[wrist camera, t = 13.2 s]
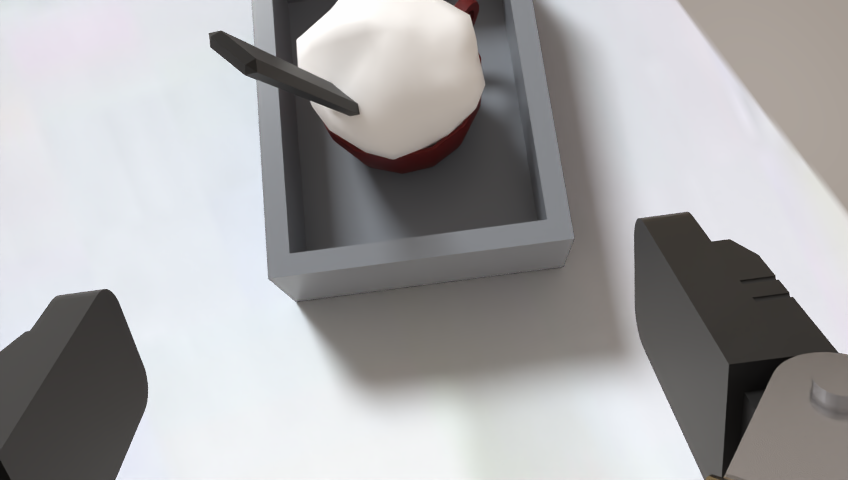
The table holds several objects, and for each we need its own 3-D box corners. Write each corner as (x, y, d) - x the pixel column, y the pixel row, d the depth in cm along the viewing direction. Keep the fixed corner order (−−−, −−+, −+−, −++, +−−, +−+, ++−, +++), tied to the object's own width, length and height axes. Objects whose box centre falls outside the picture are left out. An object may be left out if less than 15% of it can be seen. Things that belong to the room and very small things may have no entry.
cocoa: (460, 22, 33) (456, -233, 22) (535, 139, 31) (573, -74, 20) (256, 119, 32) (140, -95, 21) (320, 247, 30) (230, 88, 19)
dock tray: (295, 301, 31) (268, 278, 27) (274, 3, 35) (248, -55, 31) (563, 266, 30) (574, 238, 26) (512, -32, 34) (515, -95, 30)
